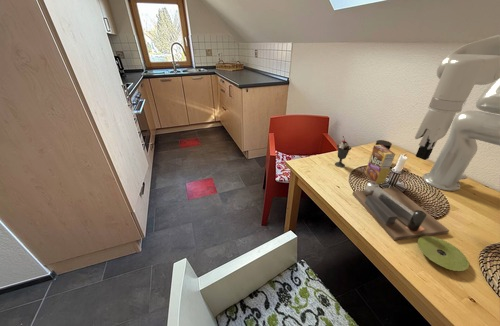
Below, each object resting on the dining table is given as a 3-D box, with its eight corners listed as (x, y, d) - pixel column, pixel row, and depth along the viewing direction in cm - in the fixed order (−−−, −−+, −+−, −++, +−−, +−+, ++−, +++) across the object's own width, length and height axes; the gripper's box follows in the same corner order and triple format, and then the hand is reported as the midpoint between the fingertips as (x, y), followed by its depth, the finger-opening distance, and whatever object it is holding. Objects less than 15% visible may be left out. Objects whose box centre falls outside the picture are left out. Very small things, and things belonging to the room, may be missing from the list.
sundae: (334, 160, 107) (340, 134, 100) (348, 163, 104) (355, 137, 96) (330, 165, 103) (337, 138, 95) (344, 169, 99) (352, 141, 92)
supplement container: (385, 159, 108) (391, 141, 102) (384, 165, 103) (391, 146, 97) (370, 156, 111) (376, 139, 105) (369, 161, 106) (376, 143, 100)
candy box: (363, 173, 96) (373, 144, 88) (372, 173, 96) (383, 144, 88) (374, 184, 88) (385, 153, 81) (384, 184, 88) (396, 153, 81)
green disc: (417, 233, 65) (419, 229, 64) (464, 254, 59) (468, 250, 58) (412, 257, 58) (415, 253, 57) (465, 284, 52) (470, 279, 51)
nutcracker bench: (394, 190, 85) (398, 180, 82) (447, 233, 65) (455, 222, 63) (352, 194, 83) (355, 184, 80) (393, 240, 63) (399, 229, 61)
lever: (361, 191, 81) (366, 178, 78) (370, 189, 82) (374, 176, 79) (411, 232, 63) (420, 217, 60) (421, 229, 64) (430, 215, 61)
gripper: (442, 97, 66) (420, 148, 75) (418, 106, 59) (397, 159, 69) (473, 102, 60) (445, 156, 70) (450, 112, 54) (423, 169, 63)
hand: (421, 157), depth 69 cm, fingers closed
